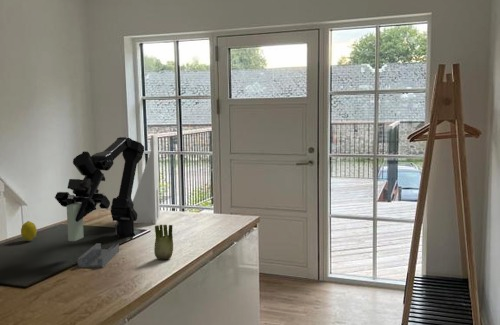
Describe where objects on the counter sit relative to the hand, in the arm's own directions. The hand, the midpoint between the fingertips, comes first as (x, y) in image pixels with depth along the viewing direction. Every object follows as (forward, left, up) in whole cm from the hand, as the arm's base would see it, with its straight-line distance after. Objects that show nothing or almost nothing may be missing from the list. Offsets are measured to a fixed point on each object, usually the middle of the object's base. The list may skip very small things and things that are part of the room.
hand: (72, 220), depth 156 cm
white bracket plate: (-38, -49, -14) cm, 63 cm away
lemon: (+11, -35, -14) cm, 39 cm away
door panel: (-1, -1, -7) cm, 7 cm away
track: (-8, +3, -13) cm, 16 cm away
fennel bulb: (-27, +15, -14) cm, 33 cm away
